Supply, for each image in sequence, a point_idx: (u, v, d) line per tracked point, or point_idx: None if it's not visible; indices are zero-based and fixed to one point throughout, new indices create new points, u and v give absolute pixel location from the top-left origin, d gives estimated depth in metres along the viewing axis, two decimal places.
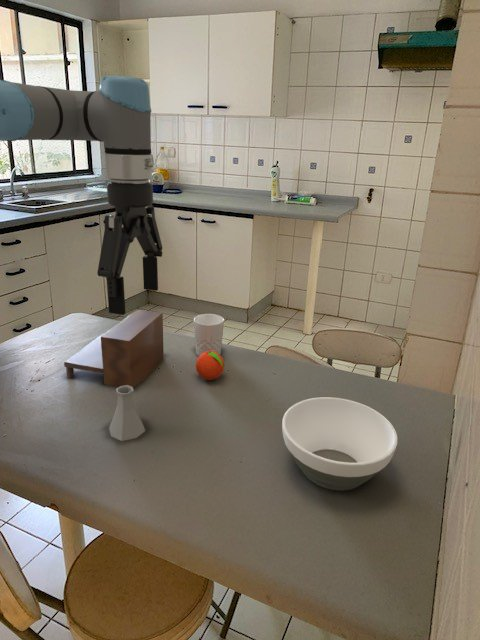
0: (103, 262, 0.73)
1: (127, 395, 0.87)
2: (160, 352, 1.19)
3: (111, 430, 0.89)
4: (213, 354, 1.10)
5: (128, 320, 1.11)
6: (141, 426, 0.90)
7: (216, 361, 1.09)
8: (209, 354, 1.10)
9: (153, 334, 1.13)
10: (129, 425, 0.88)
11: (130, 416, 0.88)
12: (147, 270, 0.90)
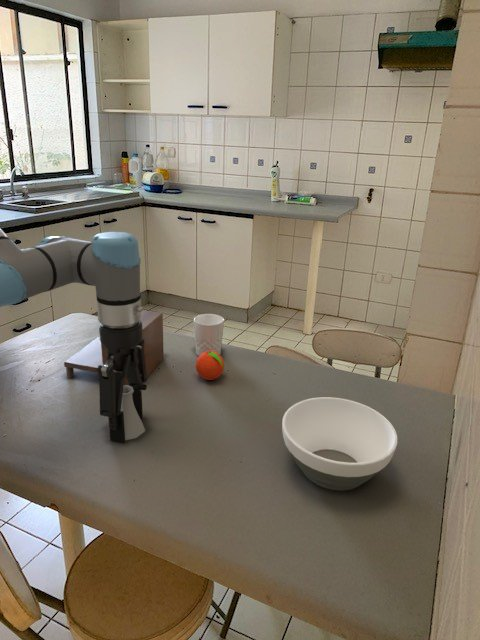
0: (103, 406, 0.81)
1: (127, 395, 0.87)
2: (160, 352, 1.19)
3: None
4: (213, 354, 1.10)
5: None
6: (141, 426, 0.90)
7: (216, 361, 1.09)
8: (209, 354, 1.10)
9: (153, 334, 1.13)
10: (129, 425, 0.88)
11: (130, 416, 0.88)
12: None
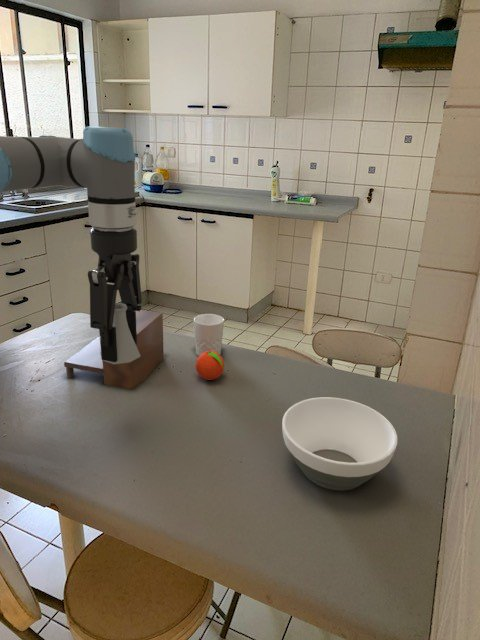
0: (94, 316, 0.76)
1: (120, 311, 0.81)
2: (160, 352, 1.19)
3: None
4: (213, 354, 1.10)
5: None
6: (135, 347, 0.85)
7: (216, 361, 1.09)
8: (209, 354, 1.10)
9: (153, 334, 1.13)
10: (122, 345, 0.83)
11: (124, 335, 0.83)
12: None
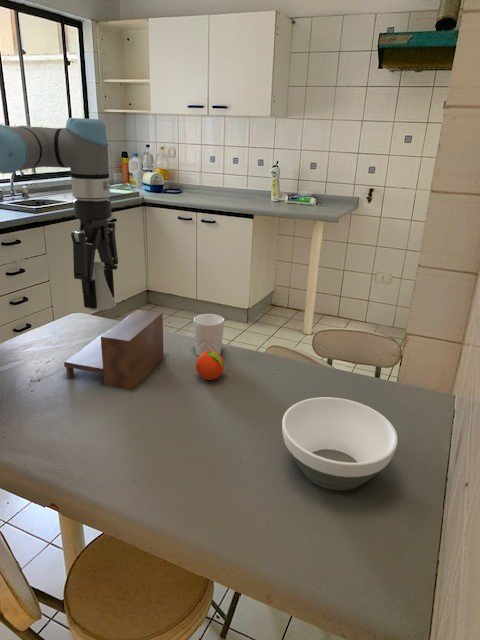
0: (77, 269, 0.96)
1: (98, 267, 1.01)
2: (160, 352, 1.19)
3: None
4: (213, 354, 1.10)
5: (128, 320, 1.11)
6: (112, 298, 1.04)
7: (216, 361, 1.09)
8: (209, 354, 1.10)
9: (153, 334, 1.13)
10: (101, 295, 1.03)
11: (102, 287, 1.03)
12: None
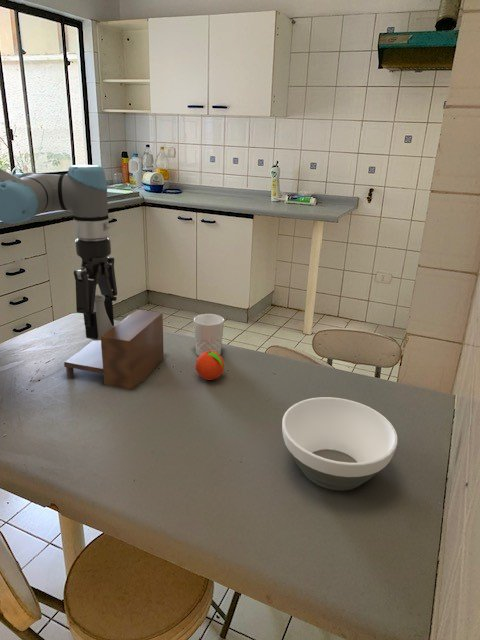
0: (79, 304, 1.03)
1: (99, 300, 1.08)
2: (160, 352, 1.19)
3: None
4: (213, 354, 1.10)
5: (128, 320, 1.11)
6: None
7: (216, 361, 1.09)
8: (209, 354, 1.10)
9: (153, 334, 1.13)
10: (101, 326, 1.10)
11: (103, 319, 1.10)
12: None
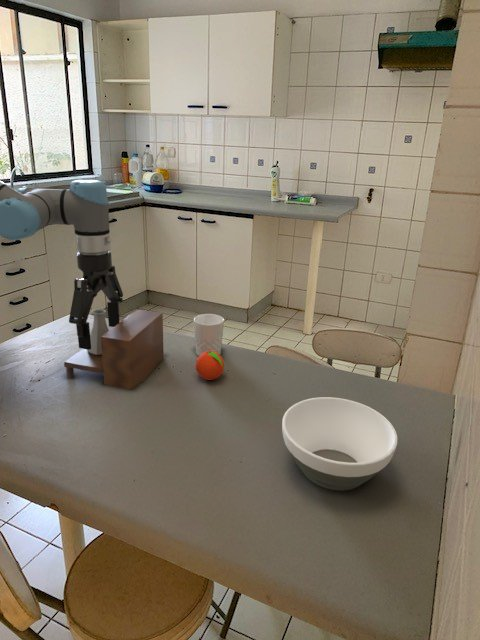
0: (73, 313, 1.01)
1: (100, 315, 1.10)
2: (160, 352, 1.19)
3: None
4: (213, 354, 1.10)
5: (128, 320, 1.11)
6: None
7: (216, 361, 1.09)
8: (209, 354, 1.10)
9: (153, 334, 1.13)
10: None
11: (104, 333, 1.11)
12: (111, 312, 1.17)
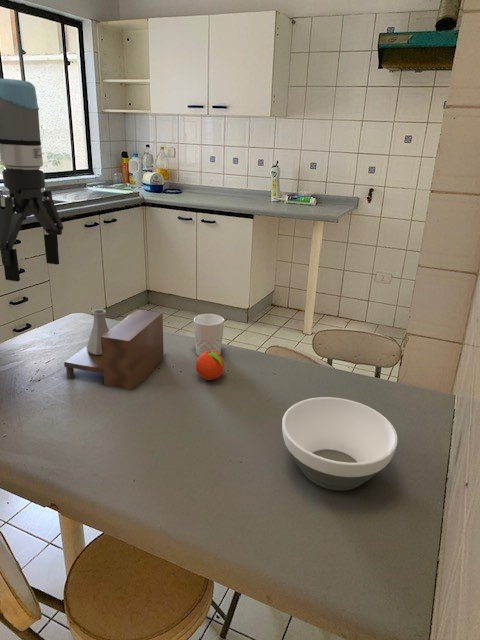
0: None
1: (100, 315, 1.10)
2: (160, 352, 1.19)
3: (88, 345, 1.12)
4: (213, 354, 1.10)
5: (128, 320, 1.11)
6: None
7: (216, 361, 1.09)
8: (209, 354, 1.10)
9: (153, 334, 1.13)
10: None
11: (104, 333, 1.11)
12: (48, 246, 1.03)
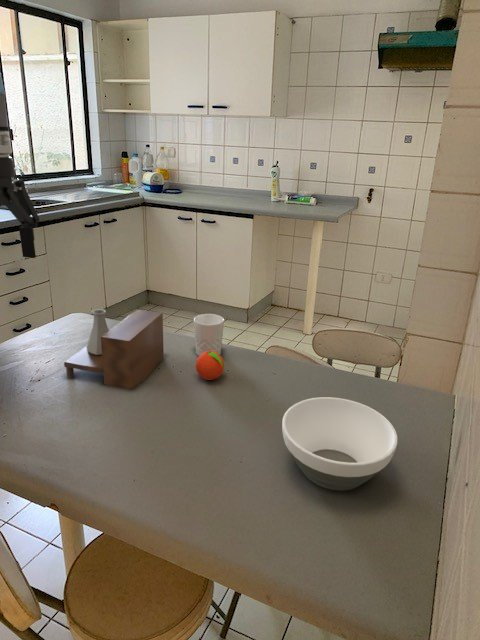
0: None
1: (100, 315, 1.10)
2: (160, 352, 1.19)
3: (88, 345, 1.12)
4: (213, 354, 1.10)
5: (128, 320, 1.11)
6: None
7: (216, 361, 1.09)
8: (209, 354, 1.10)
9: (153, 334, 1.13)
10: None
11: (104, 333, 1.11)
12: (24, 239, 0.99)
